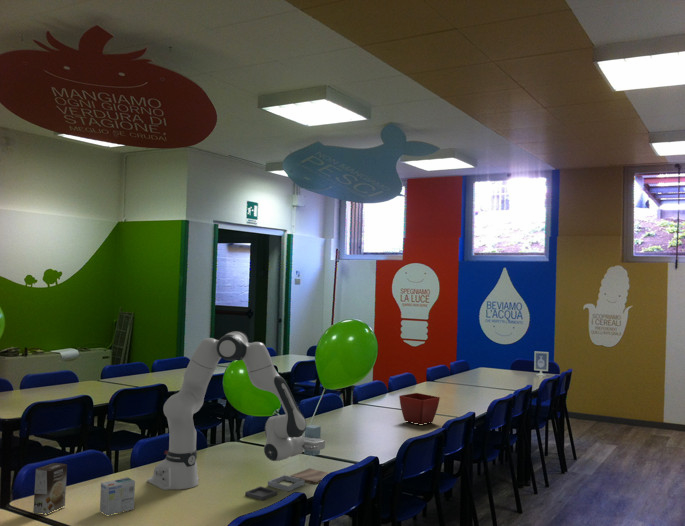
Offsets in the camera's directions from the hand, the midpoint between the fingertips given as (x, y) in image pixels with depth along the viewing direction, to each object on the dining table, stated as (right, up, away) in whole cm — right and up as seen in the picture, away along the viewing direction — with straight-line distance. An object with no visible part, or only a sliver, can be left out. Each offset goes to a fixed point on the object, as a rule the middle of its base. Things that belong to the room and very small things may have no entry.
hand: (313, 438), depth 274 cm
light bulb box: (-71, -13, -47) cm, 86 cm away
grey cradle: (-11, -16, -13) cm, 23 cm away
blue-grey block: (-1, -6, -1) cm, 7 cm away
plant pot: (+62, -24, +117) cm, 134 cm away
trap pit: (-20, -15, -26) cm, 36 cm away
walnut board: (-1, -17, -1) cm, 17 cm away
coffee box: (-95, -13, -49) cm, 107 cm away
